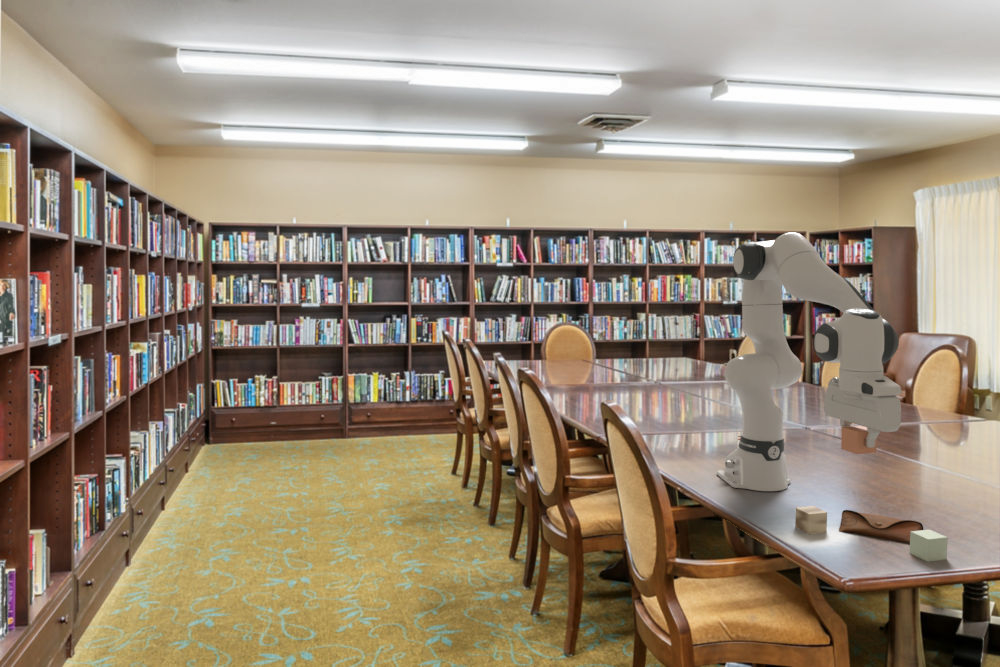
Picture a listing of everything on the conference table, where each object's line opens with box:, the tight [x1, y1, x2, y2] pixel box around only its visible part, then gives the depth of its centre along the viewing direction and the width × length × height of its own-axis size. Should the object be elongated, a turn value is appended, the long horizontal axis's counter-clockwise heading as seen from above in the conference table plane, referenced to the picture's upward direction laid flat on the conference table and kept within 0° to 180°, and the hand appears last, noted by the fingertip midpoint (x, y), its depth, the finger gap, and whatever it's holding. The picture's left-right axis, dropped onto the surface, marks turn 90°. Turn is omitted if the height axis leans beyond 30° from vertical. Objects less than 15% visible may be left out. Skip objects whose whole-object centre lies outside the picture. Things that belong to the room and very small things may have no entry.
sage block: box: [909, 529, 948, 562], centre depth 162 cm, size 5×5×5 cm
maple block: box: [794, 505, 828, 535], centre depth 179 cm, size 5×5×5 cm
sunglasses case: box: [838, 509, 924, 545], centre depth 177 cm, size 18×7×7 cm, turn 57°
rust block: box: [840, 425, 878, 455], centre depth 165 cm, size 5×5×5 cm
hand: (858, 443), depth 165 cm, fingers closed on rust block, 5 cm apart
